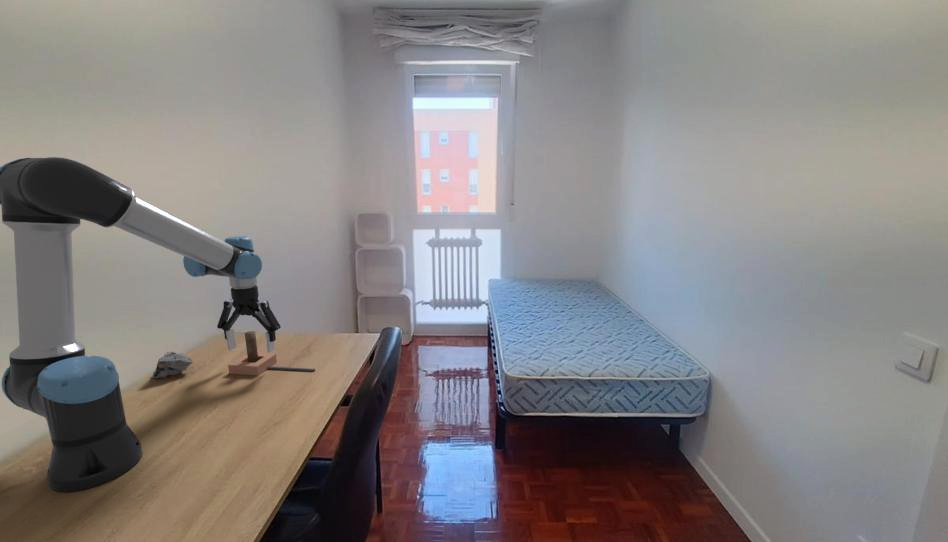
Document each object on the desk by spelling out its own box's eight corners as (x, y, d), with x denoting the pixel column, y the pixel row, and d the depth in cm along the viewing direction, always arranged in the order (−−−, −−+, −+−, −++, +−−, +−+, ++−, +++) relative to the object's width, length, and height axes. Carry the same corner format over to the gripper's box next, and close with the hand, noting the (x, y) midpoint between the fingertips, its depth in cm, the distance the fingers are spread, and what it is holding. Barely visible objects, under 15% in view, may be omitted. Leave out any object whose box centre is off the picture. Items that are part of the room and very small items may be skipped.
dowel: (255, 369, 138) (251, 334, 135) (246, 369, 138) (242, 334, 136) (261, 365, 141) (257, 331, 138) (252, 365, 141) (248, 331, 139)
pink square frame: (258, 375, 134) (257, 366, 133) (229, 373, 135) (228, 364, 134) (276, 362, 144) (275, 353, 143) (249, 360, 145) (248, 352, 144)
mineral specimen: (175, 385, 138) (168, 389, 129) (151, 371, 136) (142, 375, 127) (197, 359, 142) (192, 362, 133) (174, 346, 139) (167, 347, 130)
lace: (313, 371, 136) (313, 369, 136) (267, 369, 138) (267, 367, 138) (315, 370, 137) (315, 368, 137) (268, 368, 139) (268, 366, 139)
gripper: (288, 284, 136) (294, 347, 140) (216, 282, 139) (224, 343, 143) (274, 290, 128) (281, 356, 133) (198, 287, 132) (207, 352, 136)
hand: (251, 349), depth 138 cm, fingers open, 13 cm apart
